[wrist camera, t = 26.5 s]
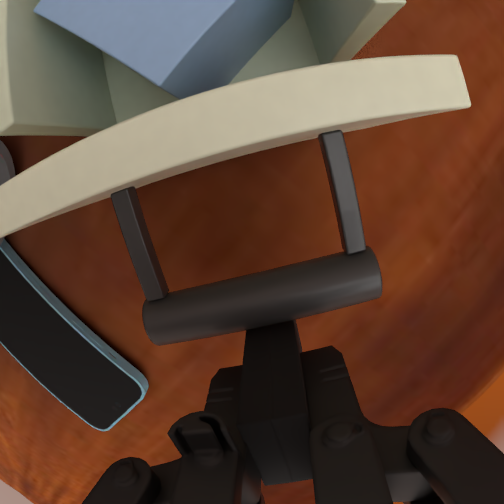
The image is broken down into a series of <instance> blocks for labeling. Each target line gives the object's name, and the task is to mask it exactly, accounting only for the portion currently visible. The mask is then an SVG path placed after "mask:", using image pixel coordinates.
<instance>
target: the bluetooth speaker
mask: <svg viewBox="0 0 504 504" xmlns="http://www.w3.org/2000/svg"><path fill="white" fill-rule="evenodd" d="M13 177H15V169H14V164H13V160H12V157H11V155H10V153H9V151H8V149H7V148H6V146H5V145H4V143H3V142H2V141H1V140H0V186H1V185H2V184H4V183H5V182H7V181H8V180H10V179H12V178H13ZM4 237H5V236H4ZM4 237H2V238H0V246H1V244H2V241H3V239H4Z"/></svg>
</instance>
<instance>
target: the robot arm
mask: <svg viewBox="0 0 504 504" xmlns="http://www.w3.org/2000/svg"><path fill="white" fill-rule="evenodd" d="M206 401H207V403H206V405H205V409H204V411H199V412H195V413H190V414H188V415H186V416H184V417H182V418H180V419H179V420H178V421H177V422H175V423H174V424H173V425H172V426H171V428H170V430H169V432H168V433H167V434H168V435H169V437H170V438H171V440H172V441H173V443H174V445H175V446H176V448H177V449H178V451H179V452H180V454H181V455H182V457H181V458H179V459H177V460H174V461H171V462H168V463H164V464H160V465H156V466H152V467H150V466H149V465H148V464H147V462H146V461H144V460H142V459H140V458H135V457H128V458H124V459H120V460H119V461H117V462H115V463H113V464H112V465H111V466H110V467H109V468H108V469H107V470H106V471H105V473H104V474H103V475H102V477H101V478H100V479H99V481H98V482H97V484H96V485H95V486H94V488H93V489H92V490H91V492H90V493H89V494H88V496H87V497H86V499H85V500H84V501H83V503H82V504H265V501H264V497H263V495H262V493H261V479H262V481H263V483H264V485H274V484H282V483H289V482H296V481H302V480H308V479H313V483H314V493H315V503H316V504H393V502H403V503H404V504H504V454H503V453H502V452H501V451H500V450H499V449H498V448H497V447H496V446H495V445H494V444H493V443H492V442H491V441H490V440H488V439H487V438H486V437H485V436H484V435H483V434H482V433H481V432H480V431H479V430H478V429H477V428H476V427H474V426H473V425H472V424H471V423H470V422H469V421H468V420H467V419H466V418H465V417H464V416H463V415H461V414H460V413H458V412H456V411H455V410H451V409H446V408H438V409H431V410H429V411H426V412H424V413H422V414H420V415H419V416H418V417H417V418H416V419H414V420H413V422H412V424H411V426H398V427H387V426H380V425H377V424H374V423H372V422H370V421H369V420H368V419H367V418H365V417H364V415H363V414H362V412H361V409H360V406H359V403H358V400H357V397H356V394H355V391H354V388H353V385H352V382H351V379H350V376H349V373H348V370H347V367H346V364H345V362H344V359H343V356H342V353H340V352H339V351H338V350H337V349H335V348H334V347H333V346H328V347H324V348H320V349H315V350H311V351H306V352H302V347H301V342H300V338H299V333H298V329H297V324H296V320H290V321H286V322H282V323H277V324H273V325H268V326H263V327H259V328H254V329H249V330H246V338H245V347H244V356H243V365H240V366H234V367H228V368H222V369H219V370H218V372H217V373H216V374H215V376H214V377H213V378H212V379H211V383H210V387H209V394H208V396H207V400H206Z"/></svg>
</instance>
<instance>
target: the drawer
mask: <svg viewBox="0 0 504 504" xmlns="http://www.w3.org/2000/svg"><path fill="white" fill-rule="evenodd" d="M39 2H40V0H0V136H13V135H54V136H86V137H87V138H85V139H83V140H81V141H79V142H77V143H75V144H73V145H71V146H69V147H67V148H65V149H63V150H61V151H59V152H57V153H55V154H53V155H51V156H50V157H48V158H46V159H44V160H42V161H40V162H39V163H37V164H35V165H33V166H32V167H30V168H28V169H26V170H25V171H23V172H21V173H20V174H18V175H16V176H15V177H13V178H12V179H10V180H8V181H7V182H5V183H4V184H2V185H1V186H0V238H2V237H4V236H6V235H9V234H11V233H14V232H16V231H18V230H21V229H23V228H26V227H28V226H31V225H34V224H36V223H39V222H41V221H44V220H47V219H49V218H52V217H55V216H57V215H60V214H63V213H66V212H68V211H71V210H74V209H77V208H80V207H83V206H85V205H88V204H91V203H94V202H97V201H100V200H103V199H106V198H109V197H111V199H112V202H113V206H114V209H115V212H116V215H117V218H118V221H119V224H120V228H121V231H122V234H123V237H124V239H125V242H126V245H127V248H128V251H129V254H130V257H131V259H132V262H133V265H134V268H135V270H136V273H137V276H138V278H139V281H140V284H141V286H142V289H143V291H144V294H145V297H146V300H145V302H144V304H143V310H142V316H143V323H144V327H145V330H146V333H147V335H148V337H149V339H150V340H151V341H152V342H153V343H154V344H156V345H159V346H160V345H167V344H173V343H179V342H185V341H191V340H197V339H202V338H208V337H213V336H219V335H224V334H229V333H234V332H239V331H244V330H249V329H254V328H259V327H263V326H268V325H273V324H277V323H282V322H286V321H290V320H295V319H299V318H303V317H308V316H312V315H316V314H320V313H324V312H328V311H332V310H336V309H340V308H344V307H347V306H351V305H355V304H359V303H362V302H366V301H370V300H373V299H377V298H379V297H380V296H381V295H382V277H381V272H380V268H379V264H378V261H377V259H376V256H375V254H374V252H373V251H372V249H371V248H370V247H369V246H366V244H365V238H364V232H363V226H362V220H361V215H360V209H359V204H358V199H357V194H356V189H355V184H354V179H353V175H352V170H351V166H350V161H349V157H348V152H347V148H346V144H345V140H344V136H343V132H349V131H354V130H360V129H365V128H369V127H374V126H378V125H382V124H387V123H391V122H396V121H401V120H405V119H410V118H415V117H420V116H425V115H431V114H436V113H442V112H447V111H453V110H459V109H465V108H469V107H470V106H471V102H470V98H469V94H468V91H467V87H466V83H465V80H464V76H463V73H462V69H461V66H460V63H459V60H458V57H457V56H456V55H406V56H389V57H377V58H366V59H357V60H351V59H352V58H353V56H354V55H355V54H356V53H357V52H358V51H359V50H360V49H361V48H362V47H363V46H364V45H365V44H366V43H367V42H368V41H369V40H370V39H371V38H372V37H373V36H374V35H375V34H376V33H377V32H378V31H379V30H380V29H381V28H382V27H383V26H384V25H385V24H386V23H387V22H388V21H389V20H390V19H391V18H392V17H393V16H394V15H395V14H396V13H397V12H398V11H399V10H400V9H401V8H402V7H403V6H404V5H405V4H406V0H294V3H293V9H292V14H291V17H290V18H289V19H288V20H287V21H286V22H285V23H284V24H283V25H282V26H281V27H280V28H279V29H278V30H277V31H276V32H275V33H274V34H273V35H272V37H271V38H270V39H269V40H268V41H267V42H266V43H265V44H264V45H263V46H262V47H261V48H260V49H259V50H258V51H257V52H256V54H255V55H254V56H253V57H252V58H251V59H250V60H249V61H248V62H247V64H246V65H245V66H244V67H243V68H242V69H241V70H240V71H239V73H238V74H237V75H236V76H235V77H234V78H233V79H232V81H231V82H230V83H229V84H228V85H226V86H222V87H219V88H215V89H212V90H209V91H205V92H202V93H199V94H196V95H193V96H189V97H186V98H183V99H180V100H179V99H178V98H176V97H174V96H173V95H171V94H170V93H168V92H166V91H165V90H163V89H161V88H160V87H158V86H157V85H155V84H154V83H152V82H151V81H149V80H148V79H146V78H145V77H143V76H142V75H140V74H138V73H137V72H135V71H134V70H132V69H131V68H129V67H128V66H126V65H124V64H123V63H121V62H120V61H118V60H116V59H115V58H113V57H112V56H110V55H108V54H107V53H105V52H104V51H102V50H100V49H99V48H97V47H95V46H94V45H92V44H90V43H89V42H87V41H85V40H83V39H82V38H80V37H78V36H77V35H75V34H73V33H71V32H70V31H68V30H66V29H64V28H62V27H61V26H59V25H57V24H55V23H53V22H51V21H50V20H48V19H46V18H44V17H42V16H40V15H38V14H36V13H34V11H33V10H34V8H35V7H36V6H37V4H38V3H39ZM314 138H318V139H319V143H320V147H321V151H322V155H323V159H324V163H325V167H326V171H327V176H328V180H329V184H330V189H331V193H332V198H333V203H334V207H335V212H336V217H337V222H338V227H339V232H340V237H341V243H342V248H343V250H344V251H343V252H339V253H335V254H331V255H327V256H323V257H319V258H315V259H311V260H307V261H303V262H299V263H295V264H290V265H286V266H282V267H278V268H274V269H270V270H265V271H261V272H257V273H253V274H248V275H244V276H240V277H236V278H231V279H227V280H223V281H218V282H214V283H209V284H205V285H201V286H196V287H192V288H187V289H183V290H178V291H174V292H169V293H168V291H169V289H168V286H167V283H166V281H165V278H164V275H163V272H162V270H161V267H160V264H159V261H158V258H157V255H156V252H155V249H154V247H153V244H152V241H151V238H150V235H149V231H148V228H147V225H146V222H145V219H144V216H143V213H142V210H141V206H140V203H139V200H138V196H137V193H136V190H135V188H138V187H141V186H144V185H147V184H150V183H153V182H156V181H159V180H162V179H165V178H168V177H171V176H174V175H177V174H181V173H184V172H187V171H190V170H194V169H197V168H200V167H204V166H207V165H210V164H214V163H217V162H221V161H225V160H228V159H232V158H235V157H239V156H243V155H247V154H250V153H254V152H258V151H262V150H266V149H270V148H274V147H278V146H283V145H287V144H291V143H296V142H300V141H304V140H309V139H314Z"/></svg>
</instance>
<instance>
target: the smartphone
mask: <svg viewBox="0 0 504 504" xmlns="http://www.w3.org/2000/svg"><path fill="white" fill-rule="evenodd" d="M0 343H1V344H2V345H3V346H4V347H5V349H6V350H7V351H8V352H9V353H10V354H11V355H12V356H13V357H14V358H15V359H16V360H17V361H18V362H19V363H20V364H21V365H22V366H23V367H24V368H25V369H26V370H27V371H28V372H29V373H30V374H31V375H32V376H33V377H34V378H35V379H36V380H37V381H38V382H39V383H40V384H41V385H42V386H43V387H45V388H46V389H47V390H48V391H49V392H50V393H51V394H52V395H53V396H55V397H56V398H57V399H58V400H59V401H60V402H62V403H63V404H64V405H65V406H66V407H67V408H69V409H70V410H71V411H72V412H74V413H75V414H76V415H77V416H79V417H80V418H81V419H82V420H84V421H85V422H86V423H87V424H89V425H90V426H92V427H93V428H95V429H97V430H100V431H107V430H109V429H110V428H111V427H113V426H114V425H115V424H116V423H117V422H118V421H119V420H121V419H122V418H123V417H124V416H125V415H126V414H127V413H128V412H129V411H131V410H132V409H133V408H134V407H135V406H136V405H137V404H138V403H139V402H140V401H141V400H142V399H143V398H144V396H145V394H146V392H147V390H148V387H149V385H148V381H147V379H146V378H145V377H144V375H143V374H142V373H141V372H140V371H139V370H137V369H136V368H135V367H134V366H132V365H131V364H130V363H129V362H127V361H126V360H125V359H124V358H123V357H121V356H120V355H119V354H118V353H117V352H115V351H114V350H113V349H112V348H111V347H109V346H108V345H107V344H106V343H105V342H104V341H103V340H101V339H100V338H99V337H98V336H97V335H96V334H95V333H94V332H92V331H91V330H90V329H89V328H88V327H87V326H86V325H85V324H84V323H83V322H82V321H80V320H79V319H78V318H77V317H76V316H75V315H74V314H73V313H72V312H71V311H70V310H69V309H68V308H67V307H66V306H65V305H64V304H63V303H62V302H61V301H60V300H59V299H58V298H57V297H56V296H55V295H54V294H53V293H52V292H51V291H50V290H49V289H48V288H47V287H46V286H45V285H44V284H43V283H42V282H41V281H40V279H39V278H38V277H37V276H36V275H35V274H34V273H33V272H32V271H31V270H30V268H29V267H28V266H27V265H26V264H25V263H24V262H23V261H22V259H21V258H20V257H19V256H18V255H17V254H16V252H15V251H14V250H13V249H12V248H11V246H10V245H9V244H8V243H7V241H6V240H5V239H3V241H2V244H1V246H0Z"/></svg>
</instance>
